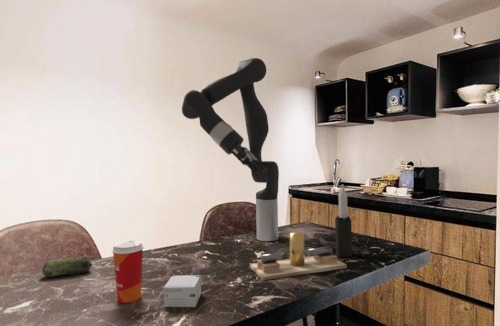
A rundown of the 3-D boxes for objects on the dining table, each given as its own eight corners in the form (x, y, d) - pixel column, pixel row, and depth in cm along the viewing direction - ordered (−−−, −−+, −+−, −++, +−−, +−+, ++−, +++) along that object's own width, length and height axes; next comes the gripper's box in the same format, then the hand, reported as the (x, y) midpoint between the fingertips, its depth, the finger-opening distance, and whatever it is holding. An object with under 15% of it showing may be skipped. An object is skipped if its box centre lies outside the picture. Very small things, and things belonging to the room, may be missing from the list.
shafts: (260, 261, 101) (260, 253, 101) (328, 252, 108) (328, 245, 108) (263, 263, 99) (263, 256, 99) (332, 254, 106) (332, 247, 106)
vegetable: (40, 280, 97) (39, 264, 97) (45, 274, 102) (44, 259, 102) (91, 274, 102) (91, 258, 102) (94, 269, 107) (93, 254, 107)
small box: (163, 308, 78) (162, 286, 78) (172, 294, 86) (171, 274, 86) (195, 307, 78) (195, 286, 78) (201, 294, 86) (201, 274, 85)
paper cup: (118, 292, 87) (117, 240, 87) (148, 291, 88) (146, 239, 87) (108, 306, 79) (106, 249, 79) (140, 304, 80) (139, 247, 80)
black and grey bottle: (349, 252, 118) (348, 183, 118) (352, 256, 113) (351, 184, 112) (335, 252, 119) (334, 183, 118) (337, 256, 114) (336, 185, 113)
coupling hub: (287, 262, 105) (287, 231, 105) (300, 261, 107) (300, 230, 106) (293, 267, 101) (293, 235, 101) (307, 265, 102) (306, 233, 102)
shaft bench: (249, 267, 105) (249, 257, 105) (326, 256, 114) (326, 248, 114) (262, 280, 94) (262, 269, 93) (346, 267, 102) (346, 258, 102)
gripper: (228, 127, 103) (264, 163, 101) (239, 130, 117) (271, 162, 114) (212, 145, 104) (248, 180, 102) (225, 146, 118) (256, 177, 116)
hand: (260, 171), depth 108 cm, fingers open, 8 cm apart
